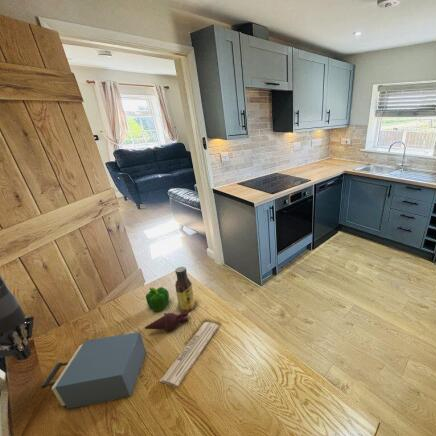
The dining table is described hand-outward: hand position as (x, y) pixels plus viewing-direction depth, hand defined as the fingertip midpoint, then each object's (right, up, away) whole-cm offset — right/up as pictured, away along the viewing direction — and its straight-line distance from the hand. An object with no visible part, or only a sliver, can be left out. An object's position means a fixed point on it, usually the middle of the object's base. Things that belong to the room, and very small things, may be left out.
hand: (25, 357), depth 67 cm
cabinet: (+18, -11, +8) cm, 23 cm away
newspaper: (+40, -8, +17) cm, 44 cm away
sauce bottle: (+30, 0, +36) cm, 47 cm away
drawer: (+13, -11, +7) cm, 19 cm away
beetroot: (+27, -4, +26) cm, 38 cm away
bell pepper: (+18, +1, +36) cm, 41 cm away
